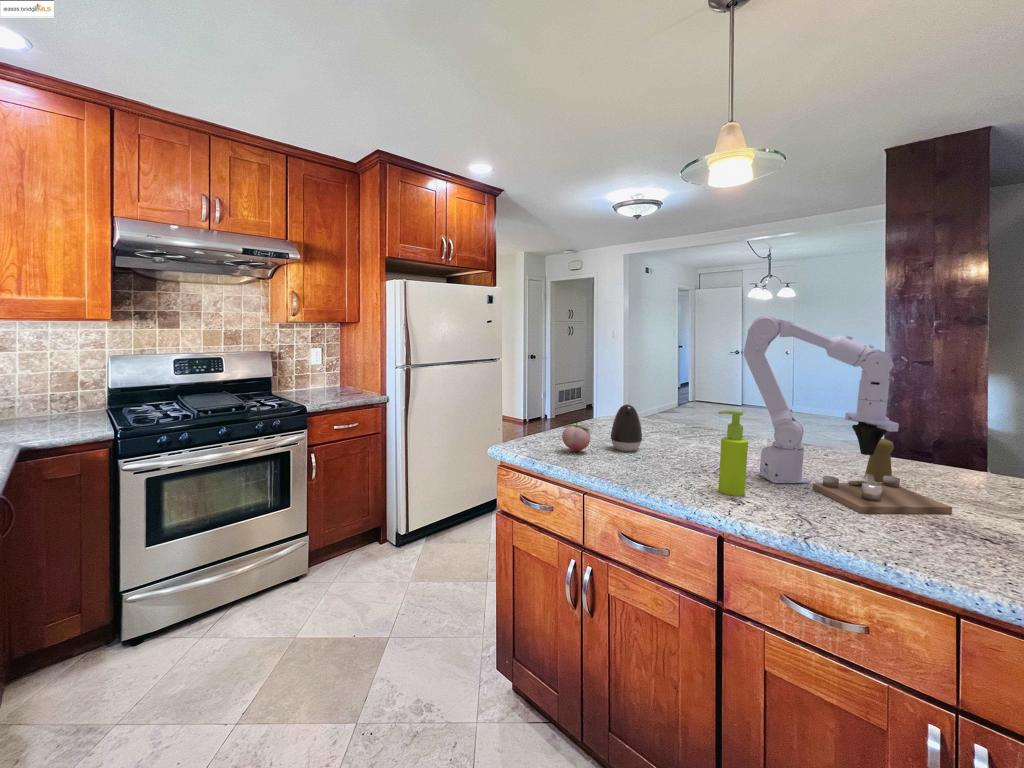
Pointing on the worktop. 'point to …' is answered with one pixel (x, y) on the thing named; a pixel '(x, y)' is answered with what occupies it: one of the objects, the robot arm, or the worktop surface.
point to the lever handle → (871, 489)
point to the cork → (880, 461)
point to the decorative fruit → (576, 437)
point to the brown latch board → (891, 498)
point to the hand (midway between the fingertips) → (866, 454)
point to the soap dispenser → (733, 458)
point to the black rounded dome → (626, 429)
